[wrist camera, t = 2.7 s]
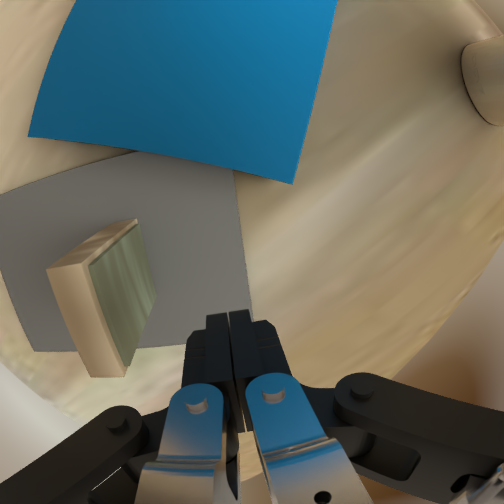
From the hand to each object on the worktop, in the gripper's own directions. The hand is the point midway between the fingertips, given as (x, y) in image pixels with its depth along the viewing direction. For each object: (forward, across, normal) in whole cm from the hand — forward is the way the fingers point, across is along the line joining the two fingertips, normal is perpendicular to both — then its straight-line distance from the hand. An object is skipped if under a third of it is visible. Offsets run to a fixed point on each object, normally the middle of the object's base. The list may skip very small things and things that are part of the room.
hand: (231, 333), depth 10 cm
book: (+11, -1, -18) cm, 22 cm away
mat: (+11, +10, 0) cm, 15 cm away
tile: (+11, +7, 0) cm, 13 cm away
